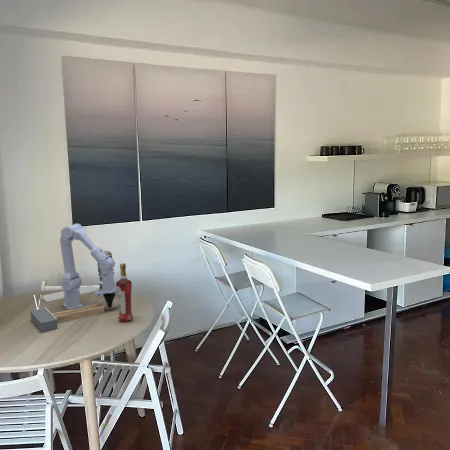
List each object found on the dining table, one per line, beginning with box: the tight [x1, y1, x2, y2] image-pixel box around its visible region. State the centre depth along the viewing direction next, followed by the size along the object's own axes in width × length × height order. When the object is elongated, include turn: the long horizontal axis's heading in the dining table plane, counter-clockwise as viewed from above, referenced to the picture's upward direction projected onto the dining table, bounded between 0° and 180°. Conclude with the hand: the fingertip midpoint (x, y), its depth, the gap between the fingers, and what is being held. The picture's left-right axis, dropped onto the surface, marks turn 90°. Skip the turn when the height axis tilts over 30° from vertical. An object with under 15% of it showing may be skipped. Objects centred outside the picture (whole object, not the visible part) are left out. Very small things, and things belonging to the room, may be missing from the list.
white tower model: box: [97, 250, 116, 298], centre depth 267 cm, size 9×9×25 cm
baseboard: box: [39, 285, 100, 303], centre depth 271 cm, size 31×3×12 cm
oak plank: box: [51, 303, 105, 325], centre depth 233 cm, size 6×28×4 cm, turn 125°
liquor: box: [115, 263, 134, 323], centre depth 227 cm, size 7×7×28 cm
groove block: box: [30, 306, 58, 333], centre depth 225 cm, size 20×7×5 cm, turn 35°
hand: (109, 307), depth 244 cm, fingers closed
